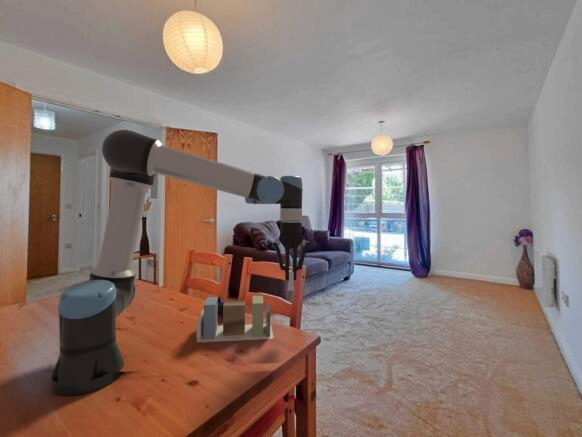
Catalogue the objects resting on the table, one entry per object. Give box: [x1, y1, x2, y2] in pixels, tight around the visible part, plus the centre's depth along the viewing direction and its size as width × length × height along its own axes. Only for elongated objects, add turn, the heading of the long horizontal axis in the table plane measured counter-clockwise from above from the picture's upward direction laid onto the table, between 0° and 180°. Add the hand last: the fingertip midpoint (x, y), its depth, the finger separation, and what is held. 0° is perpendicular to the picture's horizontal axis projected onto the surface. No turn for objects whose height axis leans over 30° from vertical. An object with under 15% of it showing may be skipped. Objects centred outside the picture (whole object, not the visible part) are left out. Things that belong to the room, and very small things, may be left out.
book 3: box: [251, 295, 265, 337], centre depth 97 cm, size 8×4×11 cm, turn 8°
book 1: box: [203, 296, 219, 339], centre depth 95 cm, size 8×4×11 cm, turn 8°
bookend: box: [265, 302, 271, 336], centre depth 98 cm, size 9×1×8 cm, turn 8°
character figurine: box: [217, 296, 224, 317], centre depth 113 cm, size 8×7×15 cm
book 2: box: [222, 300, 246, 336], centre depth 96 cm, size 4×7×10 cm, turn 98°
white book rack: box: [196, 309, 275, 343], centre depth 96 cm, size 12×24×8 cm, turn 98°
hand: (290, 289), depth 99 cm, fingers closed
